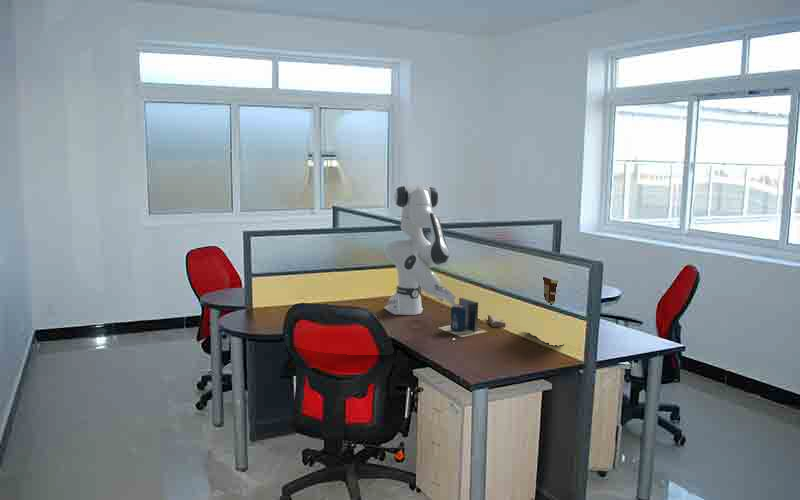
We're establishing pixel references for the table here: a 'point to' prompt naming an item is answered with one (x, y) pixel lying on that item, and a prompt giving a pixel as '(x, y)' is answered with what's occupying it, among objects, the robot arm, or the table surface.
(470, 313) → the bookend
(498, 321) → the packaged product
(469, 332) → the shelf plank
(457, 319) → the soda can
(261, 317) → the table surface
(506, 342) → the table surface
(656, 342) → the table surface
